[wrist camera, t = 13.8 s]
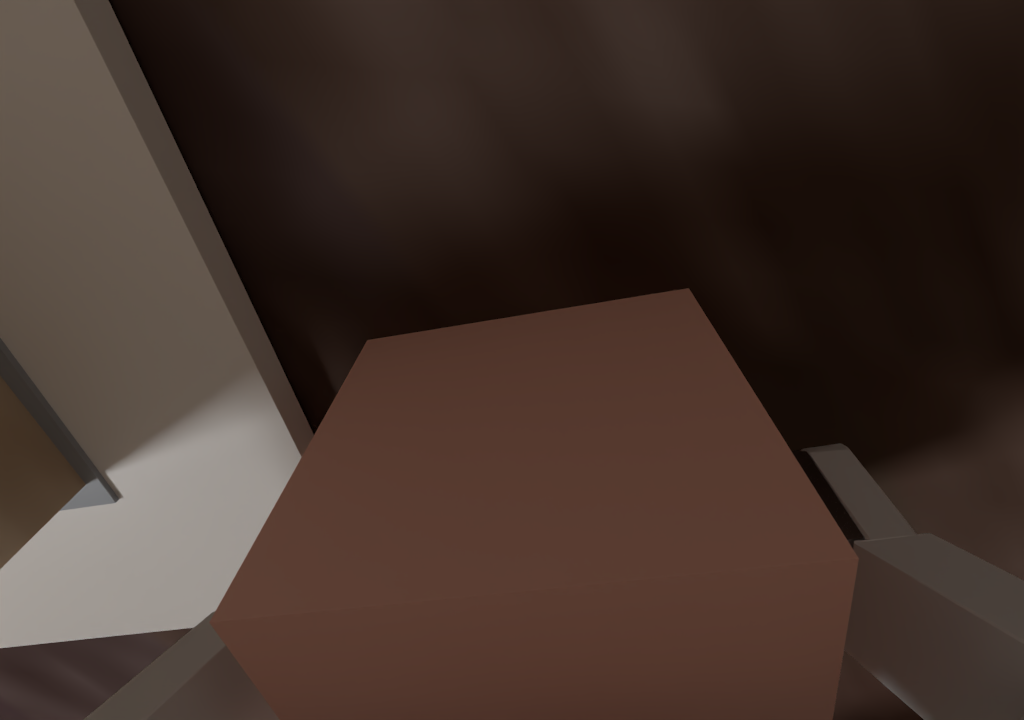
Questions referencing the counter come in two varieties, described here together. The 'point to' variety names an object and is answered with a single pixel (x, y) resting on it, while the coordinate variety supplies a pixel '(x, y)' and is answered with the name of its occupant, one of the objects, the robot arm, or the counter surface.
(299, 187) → the counter surface
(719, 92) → the counter surface
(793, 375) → the counter surface
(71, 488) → the birch block
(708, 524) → the coral cube
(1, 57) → the white flat square slab
